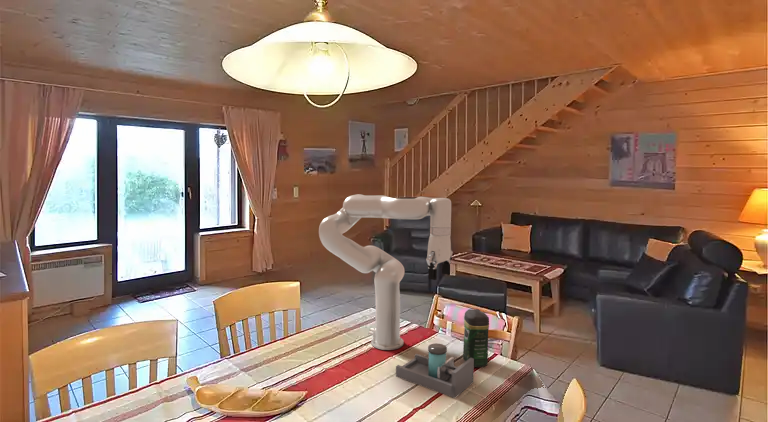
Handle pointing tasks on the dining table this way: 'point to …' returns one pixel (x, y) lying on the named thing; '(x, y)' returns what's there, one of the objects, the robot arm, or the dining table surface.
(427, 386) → the grey divided tray
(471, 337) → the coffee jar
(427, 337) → the dining table surface
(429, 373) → the spice jar
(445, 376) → the pusher plate
